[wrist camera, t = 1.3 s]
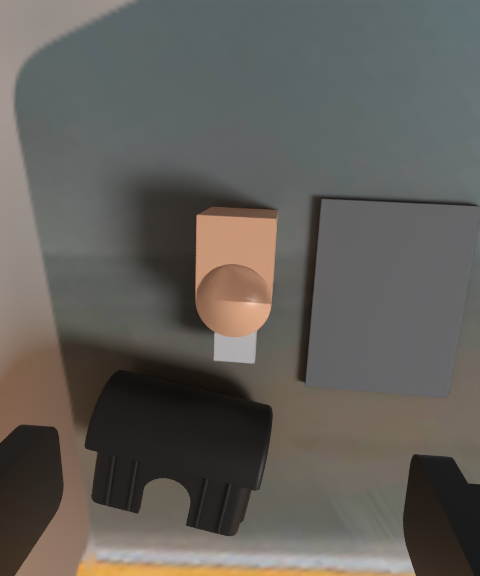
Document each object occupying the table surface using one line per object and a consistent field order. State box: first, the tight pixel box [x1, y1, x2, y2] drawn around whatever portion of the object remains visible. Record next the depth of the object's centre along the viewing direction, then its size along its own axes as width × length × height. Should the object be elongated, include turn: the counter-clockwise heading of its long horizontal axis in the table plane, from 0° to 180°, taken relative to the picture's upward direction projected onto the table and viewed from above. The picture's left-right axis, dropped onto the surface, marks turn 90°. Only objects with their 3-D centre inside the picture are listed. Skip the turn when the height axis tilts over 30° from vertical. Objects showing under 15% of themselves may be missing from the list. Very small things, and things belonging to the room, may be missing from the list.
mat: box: [305, 199, 480, 398], centre depth 27 cm, size 12×9×1 cm
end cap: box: [85, 370, 273, 536], centre depth 28 cm, size 10×7×7 cm
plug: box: [195, 207, 278, 364], centre depth 26 cm, size 9×4×5 cm, turn 178°
